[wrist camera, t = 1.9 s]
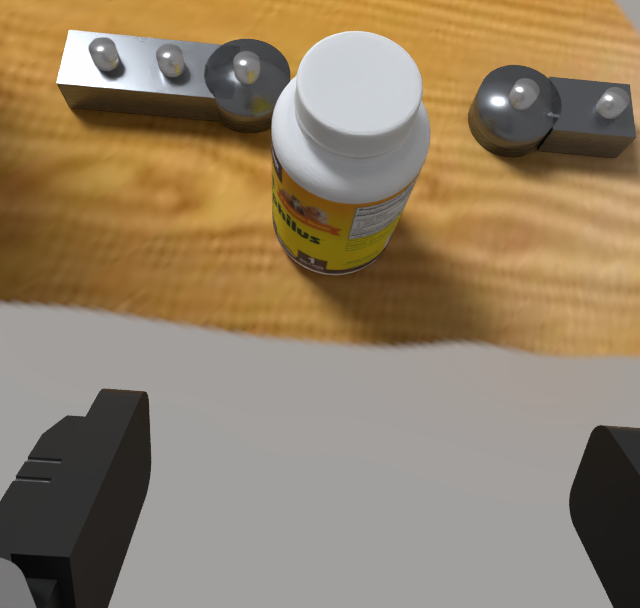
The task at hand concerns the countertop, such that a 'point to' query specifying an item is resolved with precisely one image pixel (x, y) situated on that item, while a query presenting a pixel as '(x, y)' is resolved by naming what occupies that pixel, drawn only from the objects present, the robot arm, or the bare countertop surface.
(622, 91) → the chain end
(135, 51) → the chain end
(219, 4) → the countertop surface
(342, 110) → the supplement bottle
